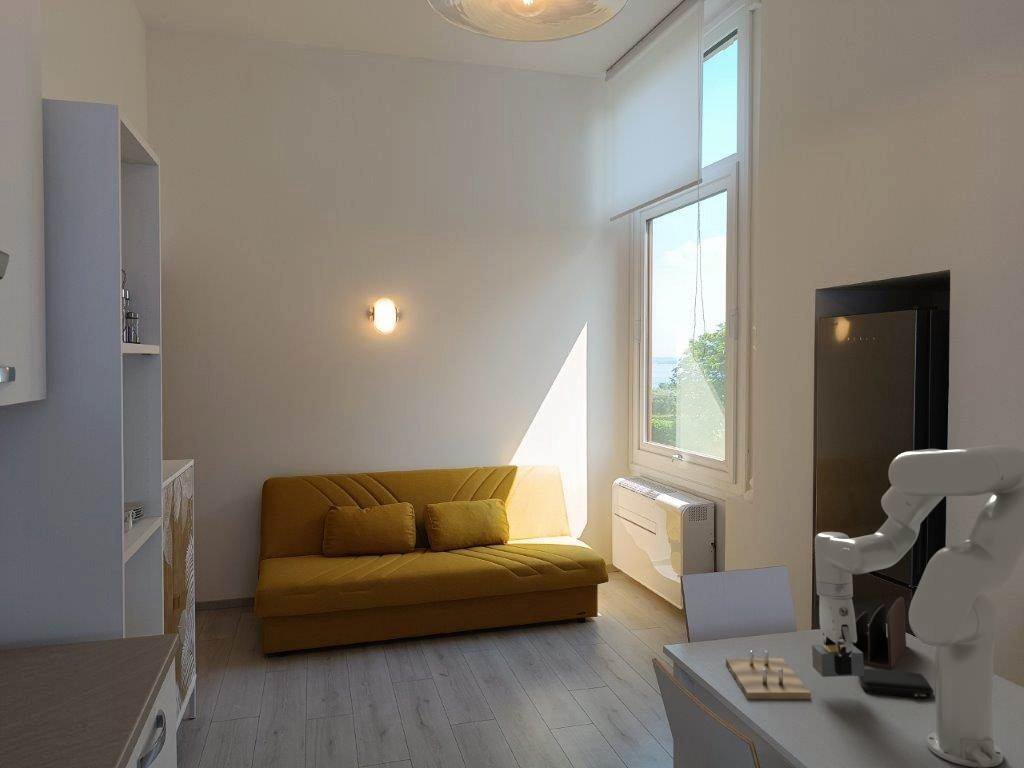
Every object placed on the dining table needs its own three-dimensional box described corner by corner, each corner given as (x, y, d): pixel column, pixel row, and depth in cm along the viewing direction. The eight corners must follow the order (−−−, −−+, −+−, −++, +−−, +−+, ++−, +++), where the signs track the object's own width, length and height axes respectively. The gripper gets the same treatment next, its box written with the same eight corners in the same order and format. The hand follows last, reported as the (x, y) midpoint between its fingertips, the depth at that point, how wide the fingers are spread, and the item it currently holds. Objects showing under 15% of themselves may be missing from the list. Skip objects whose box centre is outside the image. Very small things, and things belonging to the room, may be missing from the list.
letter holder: (906, 646, 200) (905, 593, 199) (891, 671, 184) (891, 613, 183) (865, 638, 206) (865, 587, 205) (848, 662, 190) (847, 606, 189)
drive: (852, 666, 172) (851, 643, 172) (864, 675, 166) (862, 652, 166) (812, 667, 172) (811, 644, 173) (822, 676, 167) (821, 653, 167)
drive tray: (810, 699, 169) (810, 677, 169) (747, 699, 169) (747, 677, 169) (782, 664, 189) (782, 644, 188) (725, 664, 189) (725, 644, 189)
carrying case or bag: (864, 697, 170) (937, 704, 166) (864, 684, 170) (937, 690, 166) (856, 678, 180) (924, 684, 176) (856, 665, 180) (924, 671, 176)
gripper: (867, 598, 161) (871, 683, 161) (836, 578, 178) (839, 655, 178) (832, 599, 161) (835, 683, 161) (804, 579, 178) (807, 655, 178)
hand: (838, 667), depth 169 cm, fingers closed on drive, 6 cm apart
